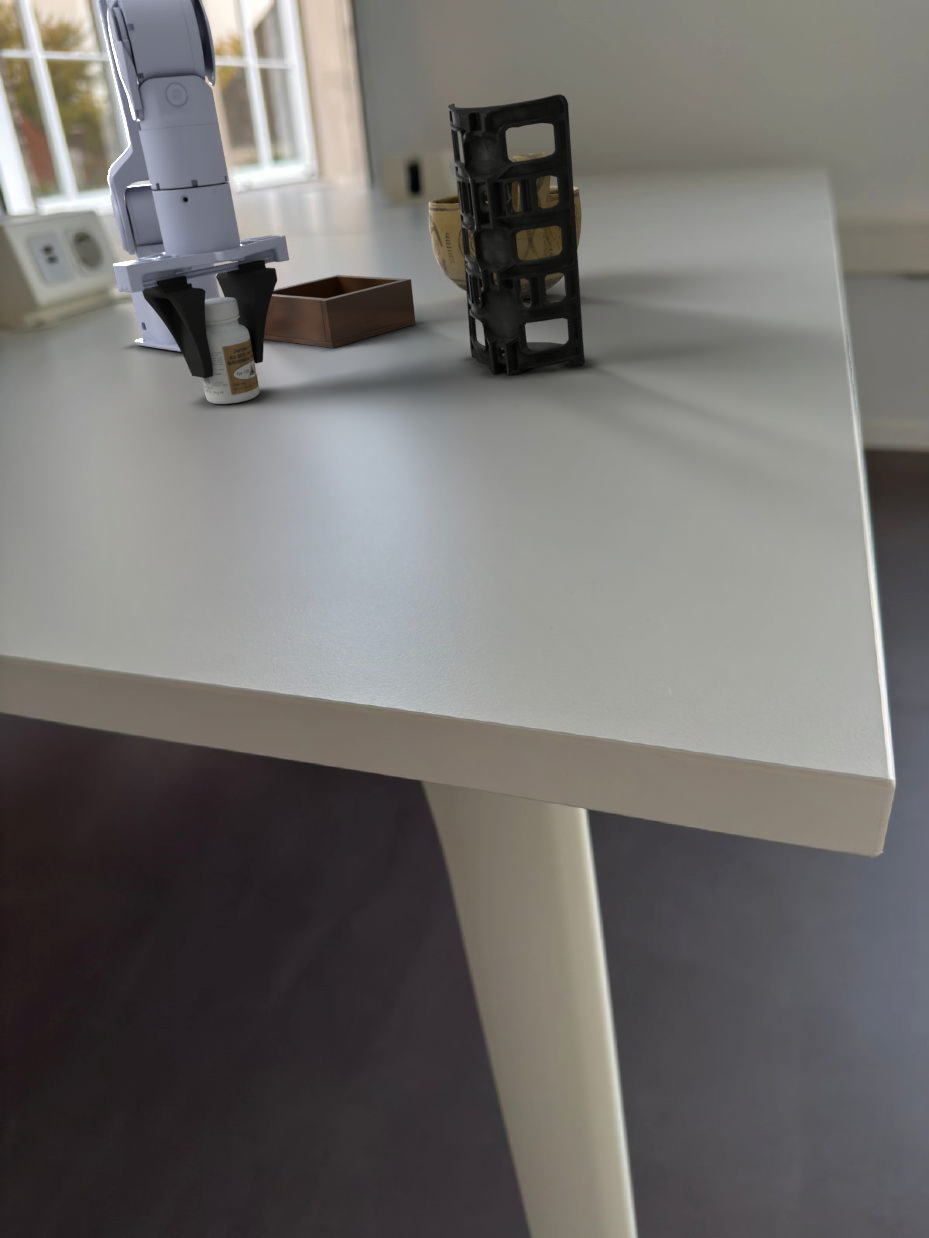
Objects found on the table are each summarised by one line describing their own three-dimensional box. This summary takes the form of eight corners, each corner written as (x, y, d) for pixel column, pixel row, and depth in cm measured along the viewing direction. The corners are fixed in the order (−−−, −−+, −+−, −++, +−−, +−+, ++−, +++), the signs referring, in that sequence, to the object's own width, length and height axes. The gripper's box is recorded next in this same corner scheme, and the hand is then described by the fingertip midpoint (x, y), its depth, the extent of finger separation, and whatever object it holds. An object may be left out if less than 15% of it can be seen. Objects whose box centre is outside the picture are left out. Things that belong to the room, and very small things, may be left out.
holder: (602, 350, 80) (586, 85, 69) (573, 382, 75) (551, 100, 64) (484, 350, 85) (452, 101, 74) (449, 380, 79) (408, 116, 68)
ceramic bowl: (613, 302, 100) (612, 145, 93) (459, 323, 97) (445, 163, 90) (550, 275, 119) (545, 143, 112) (419, 291, 117) (405, 157, 110)
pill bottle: (248, 404, 75) (228, 305, 72) (198, 406, 76) (176, 308, 73) (268, 390, 79) (251, 294, 76) (220, 391, 80) (201, 297, 76)
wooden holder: (260, 338, 99) (252, 294, 97) (343, 316, 106) (337, 274, 104) (332, 348, 92) (325, 300, 90) (415, 323, 99) (411, 279, 97)
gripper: (132, 197, 63) (178, 397, 70) (300, 174, 72) (327, 353, 79) (81, 199, 68) (129, 386, 74) (245, 177, 77) (275, 345, 83)
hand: (227, 368), depth 77 cm, fingers closed on pill bottle, 4 cm apart
